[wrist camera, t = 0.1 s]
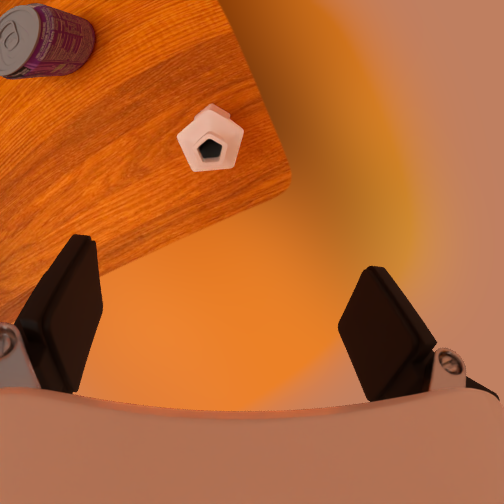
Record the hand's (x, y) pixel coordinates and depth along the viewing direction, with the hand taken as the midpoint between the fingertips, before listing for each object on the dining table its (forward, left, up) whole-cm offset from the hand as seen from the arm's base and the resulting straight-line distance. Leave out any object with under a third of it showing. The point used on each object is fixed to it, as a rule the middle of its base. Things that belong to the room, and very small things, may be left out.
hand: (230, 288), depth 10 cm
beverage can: (+4, -21, -26) cm, 33 cm away
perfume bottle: (-1, -2, -26) cm, 26 cm away
